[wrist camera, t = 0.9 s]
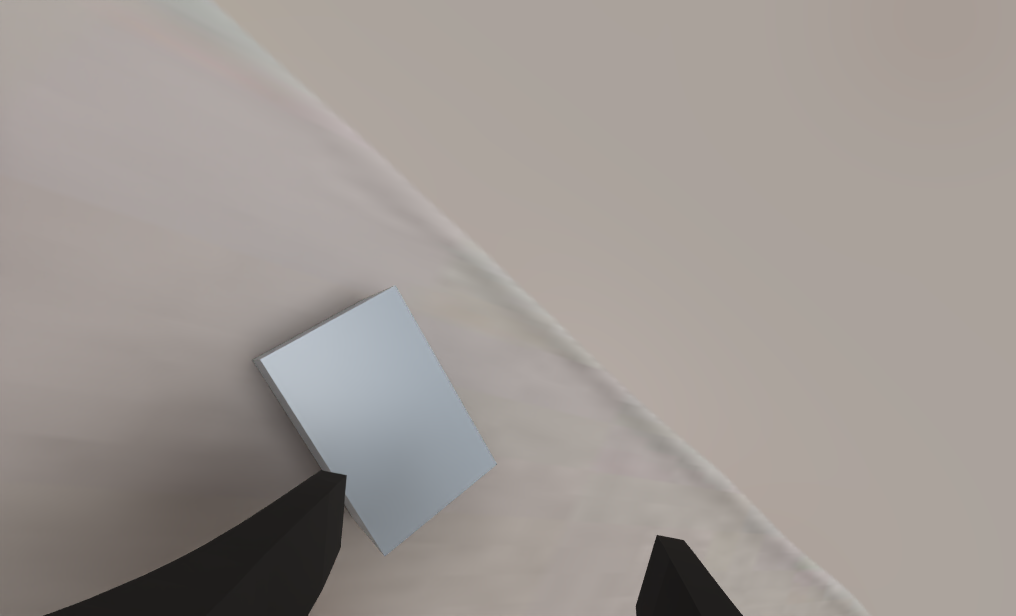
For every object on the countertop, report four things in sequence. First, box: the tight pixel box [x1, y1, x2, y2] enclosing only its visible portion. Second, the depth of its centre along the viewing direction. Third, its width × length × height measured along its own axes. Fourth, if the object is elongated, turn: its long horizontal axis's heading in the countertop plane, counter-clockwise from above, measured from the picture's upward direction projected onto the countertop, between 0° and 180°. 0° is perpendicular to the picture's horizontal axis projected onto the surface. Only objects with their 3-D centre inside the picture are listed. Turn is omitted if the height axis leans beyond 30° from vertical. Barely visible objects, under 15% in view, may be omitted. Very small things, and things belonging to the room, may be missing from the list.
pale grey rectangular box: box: [253, 286, 497, 556], centre depth 23 cm, size 6×9×6 cm, turn 32°
